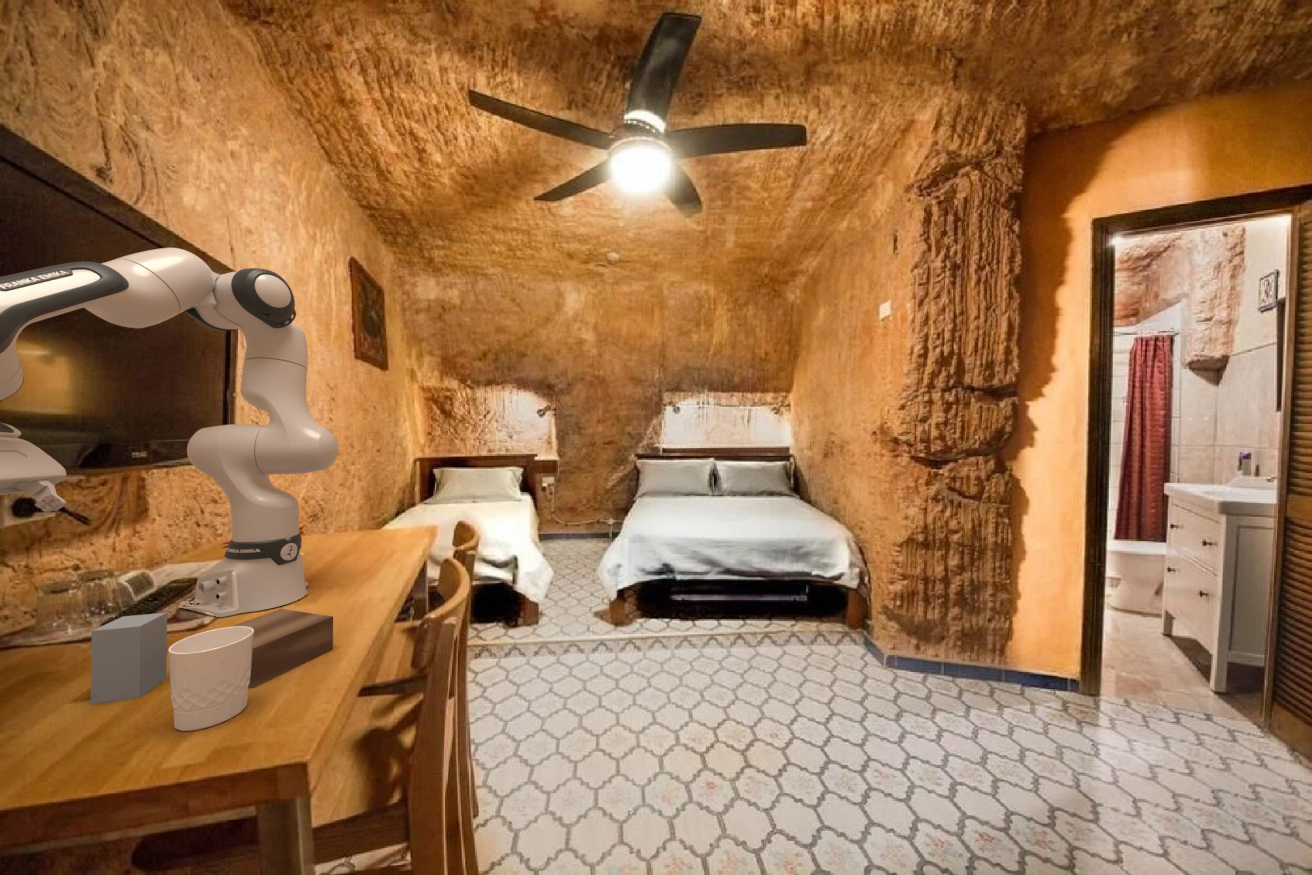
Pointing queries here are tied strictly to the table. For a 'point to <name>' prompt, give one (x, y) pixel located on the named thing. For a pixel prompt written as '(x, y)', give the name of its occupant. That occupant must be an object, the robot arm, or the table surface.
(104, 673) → the slate block
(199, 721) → the white cup
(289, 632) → the walnut box
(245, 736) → the table surface
